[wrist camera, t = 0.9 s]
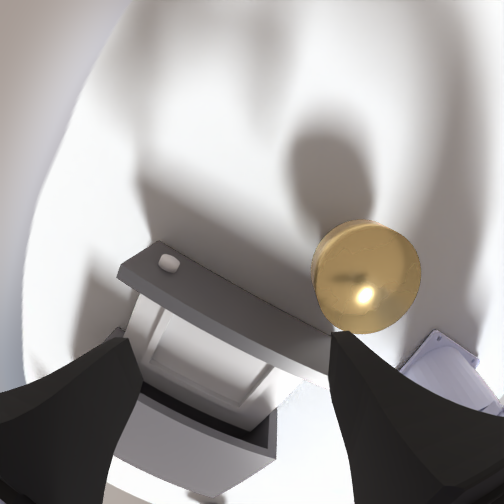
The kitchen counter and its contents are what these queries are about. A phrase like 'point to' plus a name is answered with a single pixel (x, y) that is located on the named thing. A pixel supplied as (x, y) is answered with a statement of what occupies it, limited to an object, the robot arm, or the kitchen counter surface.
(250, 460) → the housing
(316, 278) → the disc
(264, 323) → the tray
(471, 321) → the kitchen counter surface
